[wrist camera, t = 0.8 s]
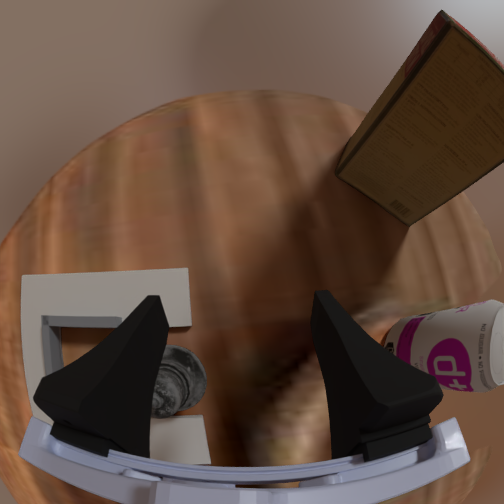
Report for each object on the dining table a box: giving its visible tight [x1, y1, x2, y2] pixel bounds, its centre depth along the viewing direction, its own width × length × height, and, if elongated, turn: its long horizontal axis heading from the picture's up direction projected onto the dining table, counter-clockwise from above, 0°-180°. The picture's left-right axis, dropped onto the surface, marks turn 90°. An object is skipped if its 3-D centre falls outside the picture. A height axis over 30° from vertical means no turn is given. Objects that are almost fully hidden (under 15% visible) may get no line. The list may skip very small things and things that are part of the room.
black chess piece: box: [151, 345, 207, 419], centre depth 17 cm, size 6×6×12 cm
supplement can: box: [384, 300, 504, 392], centre depth 20 cm, size 8×8×15 cm
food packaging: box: [335, 10, 504, 227], centre depth 22 cm, size 13×9×25 cm
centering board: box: [21, 268, 211, 465], centre depth 20 cm, size 20×20×2 cm
